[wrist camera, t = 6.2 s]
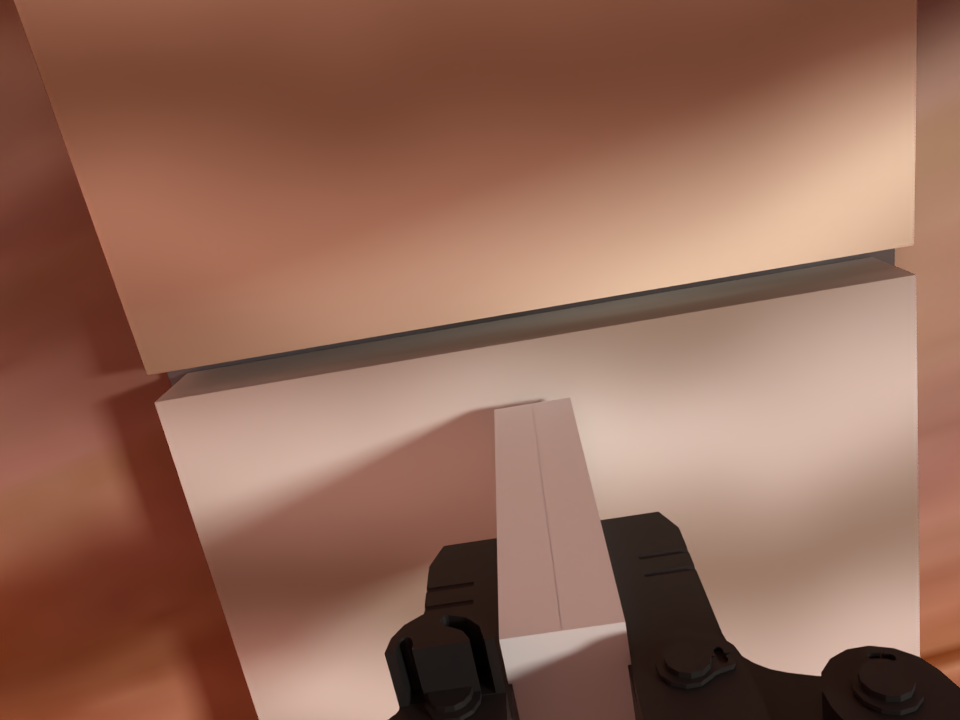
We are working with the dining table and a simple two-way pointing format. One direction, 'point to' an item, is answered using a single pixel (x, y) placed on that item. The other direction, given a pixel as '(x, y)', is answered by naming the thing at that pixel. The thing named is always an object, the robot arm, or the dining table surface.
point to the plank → (610, 461)
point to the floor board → (467, 156)
